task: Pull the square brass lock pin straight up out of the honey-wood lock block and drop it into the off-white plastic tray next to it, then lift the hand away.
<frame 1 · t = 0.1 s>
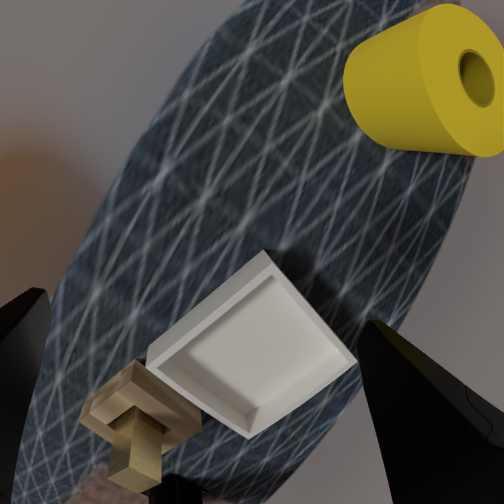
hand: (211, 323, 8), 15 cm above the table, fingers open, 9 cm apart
tray: (252, 347, 27), on the table
lock block: (141, 405, 27), on the table
yellow toilet paper roll: (394, 92, 23), on the table
lock pin: (141, 405, 27), resting in lock block
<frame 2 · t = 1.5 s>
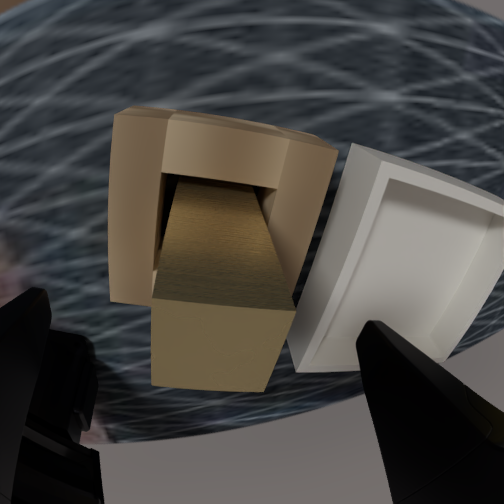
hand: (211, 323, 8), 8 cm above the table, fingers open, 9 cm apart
tray: (404, 265, 18), on the table
lock block: (210, 201, 15), on the table
lock pin: (210, 201, 15), resting in lock block
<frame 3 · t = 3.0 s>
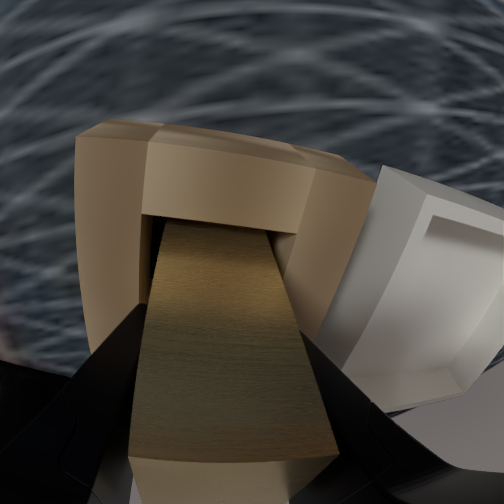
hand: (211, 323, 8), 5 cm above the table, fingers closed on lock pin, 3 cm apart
tray: (429, 299, 16), on the table
lock block: (208, 238, 12), on the table
lock pin: (208, 237, 12), resting in lock block, touching gripper
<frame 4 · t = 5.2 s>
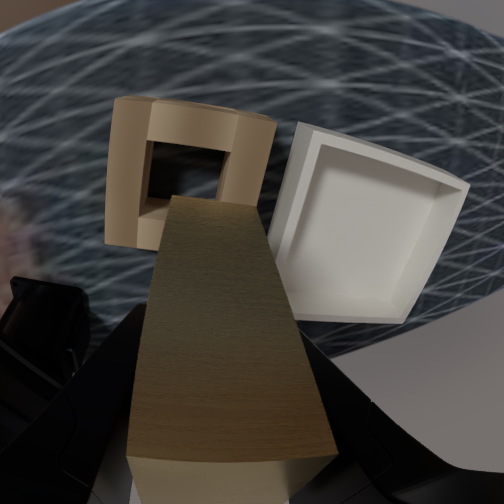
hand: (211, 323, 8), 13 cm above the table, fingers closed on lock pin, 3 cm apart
tray: (355, 228, 22), on the table
lock block: (185, 168, 19), on the table
lock pin: (207, 237, 12), point 8 cm above the table, touching gripper
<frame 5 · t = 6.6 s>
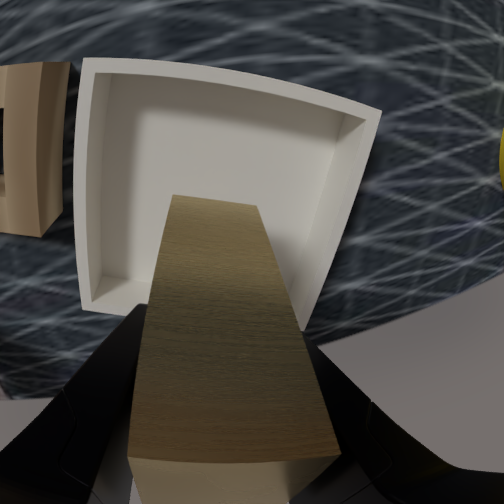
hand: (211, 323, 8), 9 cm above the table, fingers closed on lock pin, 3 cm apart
tray: (210, 192, 16), on the table
lock block: (3, 138, 13), on the table
lock pin: (208, 237, 12), point 5 cm above the table, touching gripper
when the fingers open (7 cm above the table, at t = 7.6 s): lock pin drops 2 cm, resting on tray.
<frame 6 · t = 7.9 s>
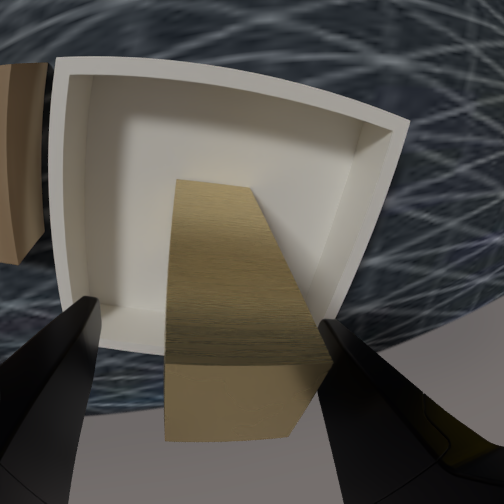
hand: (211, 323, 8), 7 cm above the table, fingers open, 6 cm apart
tray: (208, 211, 14), on the table
lock pin: (207, 216, 14), point 1 cm above the table, touching tray
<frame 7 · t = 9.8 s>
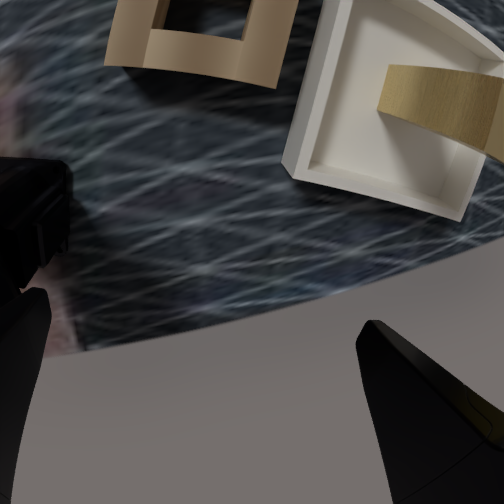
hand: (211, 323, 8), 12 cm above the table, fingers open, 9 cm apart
tray: (398, 95, 17), on the table
lock block: (208, 6, 13), on the table
lock pin: (403, 95, 16), point 1 cm above the table, touching tray
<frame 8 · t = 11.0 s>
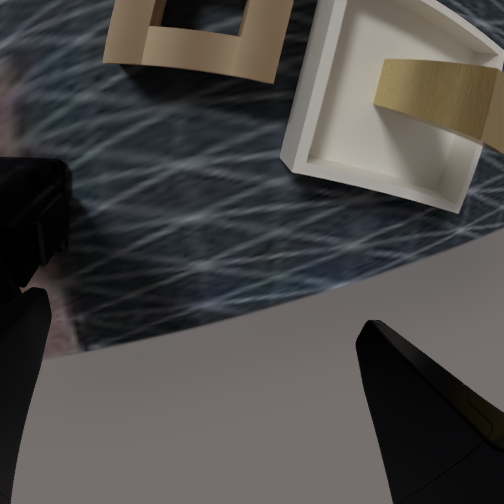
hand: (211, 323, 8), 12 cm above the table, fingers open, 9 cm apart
tray: (394, 89, 17), on the table
lock block: (205, 3, 13), on the table
lock pin: (399, 89, 16), point 1 cm above the table, touching tray
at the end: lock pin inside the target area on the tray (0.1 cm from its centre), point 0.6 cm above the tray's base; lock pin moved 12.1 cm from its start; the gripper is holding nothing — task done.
